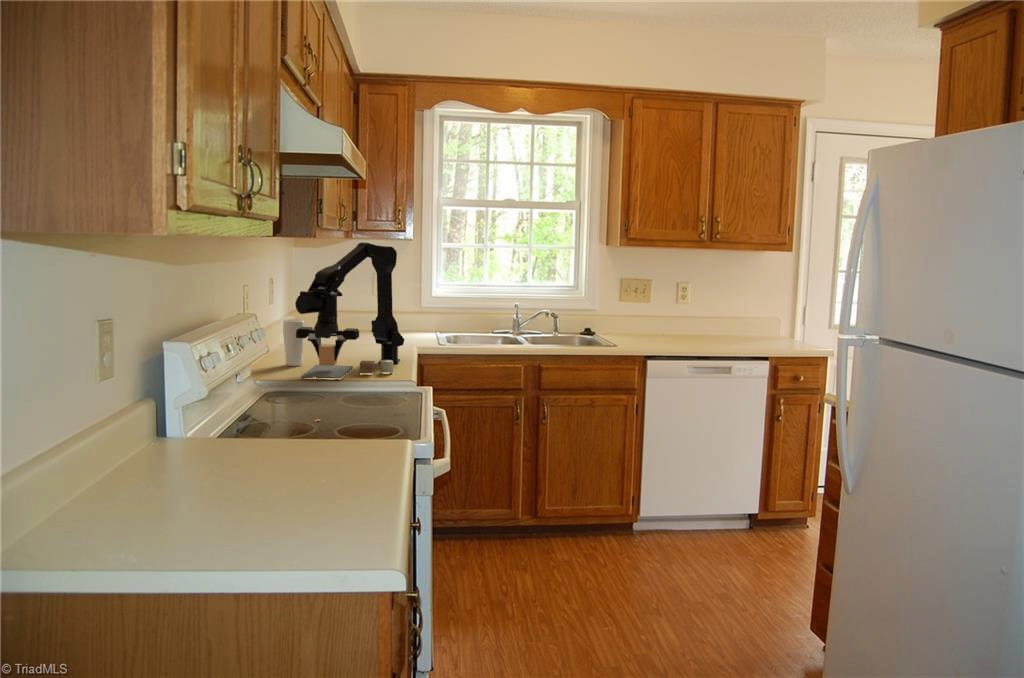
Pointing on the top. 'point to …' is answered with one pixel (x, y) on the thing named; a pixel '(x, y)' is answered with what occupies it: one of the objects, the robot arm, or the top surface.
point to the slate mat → (327, 371)
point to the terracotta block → (327, 355)
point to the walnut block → (366, 366)
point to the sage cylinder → (386, 366)
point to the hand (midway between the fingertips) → (328, 360)
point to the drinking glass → (293, 342)
